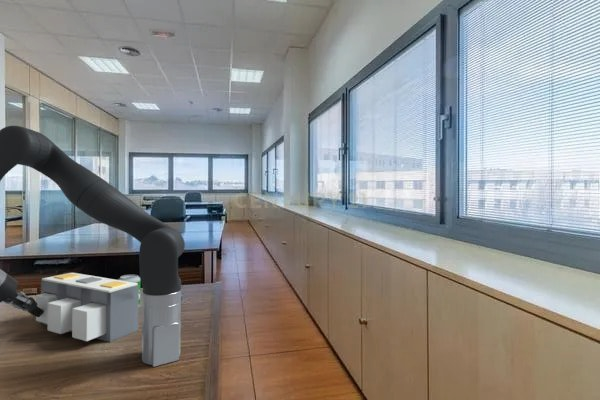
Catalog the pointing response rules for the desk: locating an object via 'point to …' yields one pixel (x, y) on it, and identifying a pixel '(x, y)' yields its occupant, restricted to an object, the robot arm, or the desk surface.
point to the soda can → (132, 279)
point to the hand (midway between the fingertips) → (40, 314)
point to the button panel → (100, 299)
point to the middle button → (61, 314)
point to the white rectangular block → (45, 305)
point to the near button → (89, 321)
